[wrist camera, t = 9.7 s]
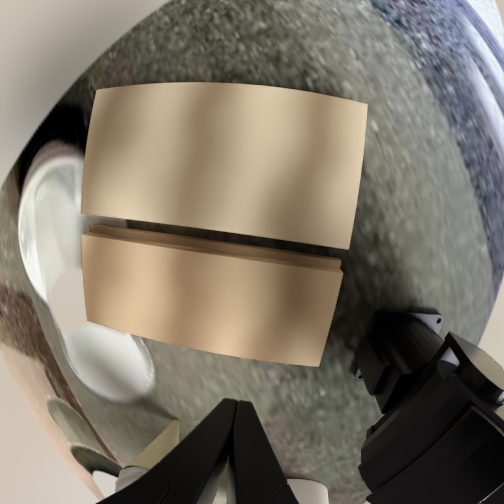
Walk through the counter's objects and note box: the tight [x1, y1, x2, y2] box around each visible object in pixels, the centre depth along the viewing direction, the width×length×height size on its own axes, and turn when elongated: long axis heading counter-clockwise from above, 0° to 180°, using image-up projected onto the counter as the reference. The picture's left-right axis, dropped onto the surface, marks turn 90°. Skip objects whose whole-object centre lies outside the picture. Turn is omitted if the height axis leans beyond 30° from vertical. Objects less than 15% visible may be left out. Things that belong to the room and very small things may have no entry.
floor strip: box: [81, 224, 343, 367], centre depth 19 cm, size 18×8×2 cm, turn 83°
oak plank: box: [81, 82, 368, 250], centre depth 17 cm, size 18×9×2 cm, turn 83°
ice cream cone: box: [115, 419, 179, 492], centre depth 16 cm, size 5×5×15 cm
